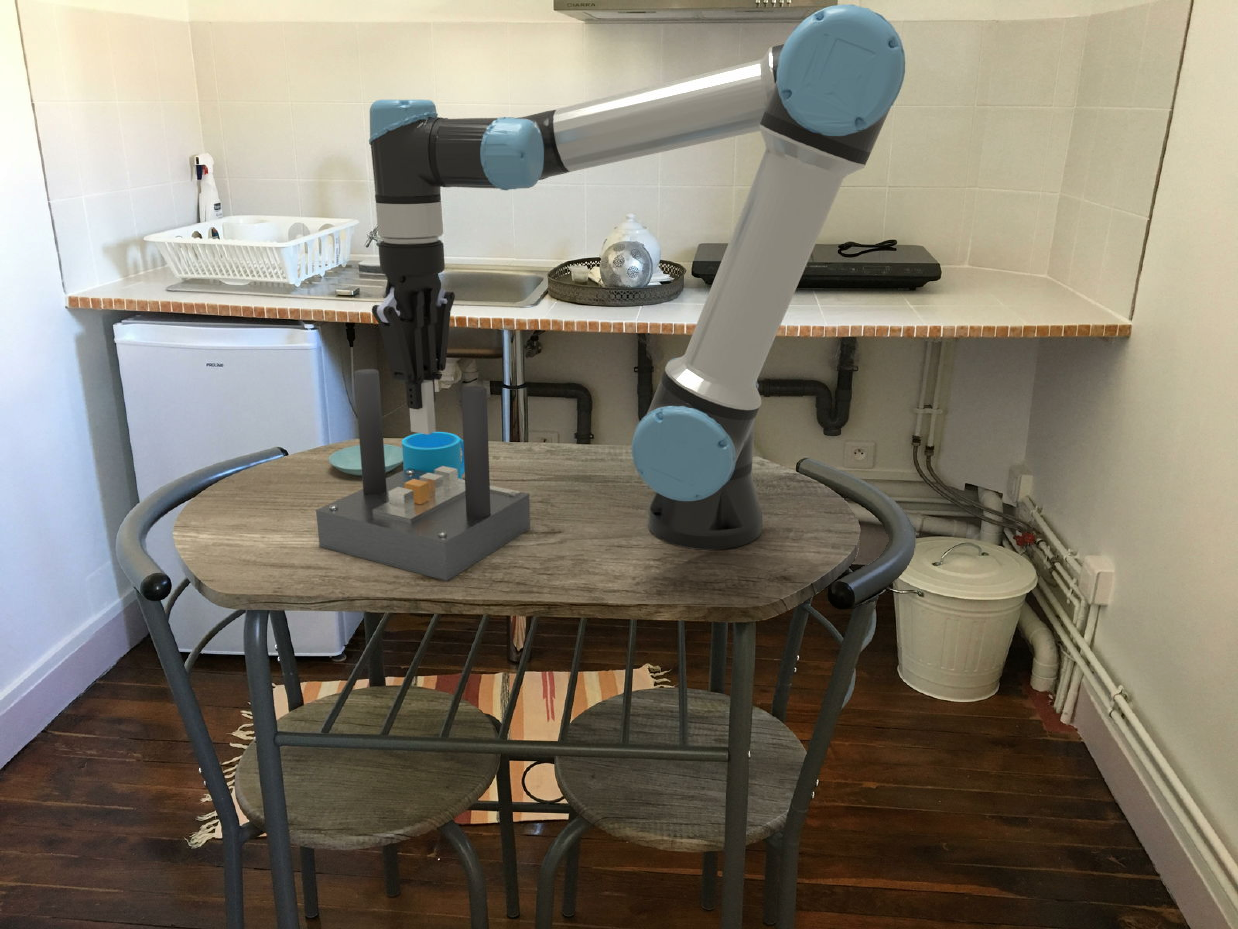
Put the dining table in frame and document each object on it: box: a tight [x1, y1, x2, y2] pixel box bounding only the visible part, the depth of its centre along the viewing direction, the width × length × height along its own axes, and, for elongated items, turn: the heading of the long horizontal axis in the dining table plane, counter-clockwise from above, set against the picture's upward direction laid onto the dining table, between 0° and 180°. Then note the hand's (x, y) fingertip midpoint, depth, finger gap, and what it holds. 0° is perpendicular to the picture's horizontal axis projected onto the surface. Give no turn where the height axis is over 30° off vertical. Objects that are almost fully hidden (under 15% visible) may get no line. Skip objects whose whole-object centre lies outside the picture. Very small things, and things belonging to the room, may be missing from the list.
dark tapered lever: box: [460, 385, 491, 519], centre depth 123 cm, size 3×3×16 cm
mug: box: [401, 431, 465, 479], centre depth 146 cm, size 12×8×8 cm
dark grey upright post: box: [353, 368, 387, 494], centre depth 130 cm, size 3×3×16 cm
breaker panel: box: [315, 466, 531, 582], centre depth 130 cm, size 20×18×8 cm
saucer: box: [328, 443, 403, 477], centre depth 155 cm, size 12×12×2 cm
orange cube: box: [404, 479, 430, 504], centre depth 127 cm, size 2×2×2 cm
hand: (423, 431), depth 126 cm, fingers closed
